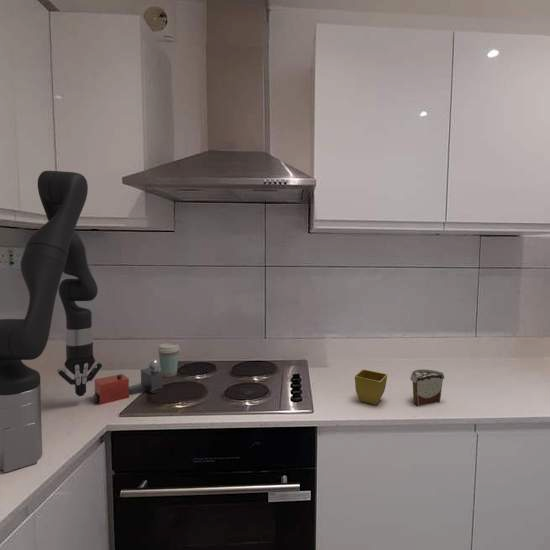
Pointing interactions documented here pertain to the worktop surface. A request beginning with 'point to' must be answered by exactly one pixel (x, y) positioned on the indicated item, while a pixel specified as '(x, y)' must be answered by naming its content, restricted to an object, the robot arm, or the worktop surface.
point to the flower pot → (370, 386)
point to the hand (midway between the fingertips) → (80, 395)
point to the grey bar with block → (145, 380)
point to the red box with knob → (112, 388)
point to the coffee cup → (168, 358)
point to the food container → (426, 386)
